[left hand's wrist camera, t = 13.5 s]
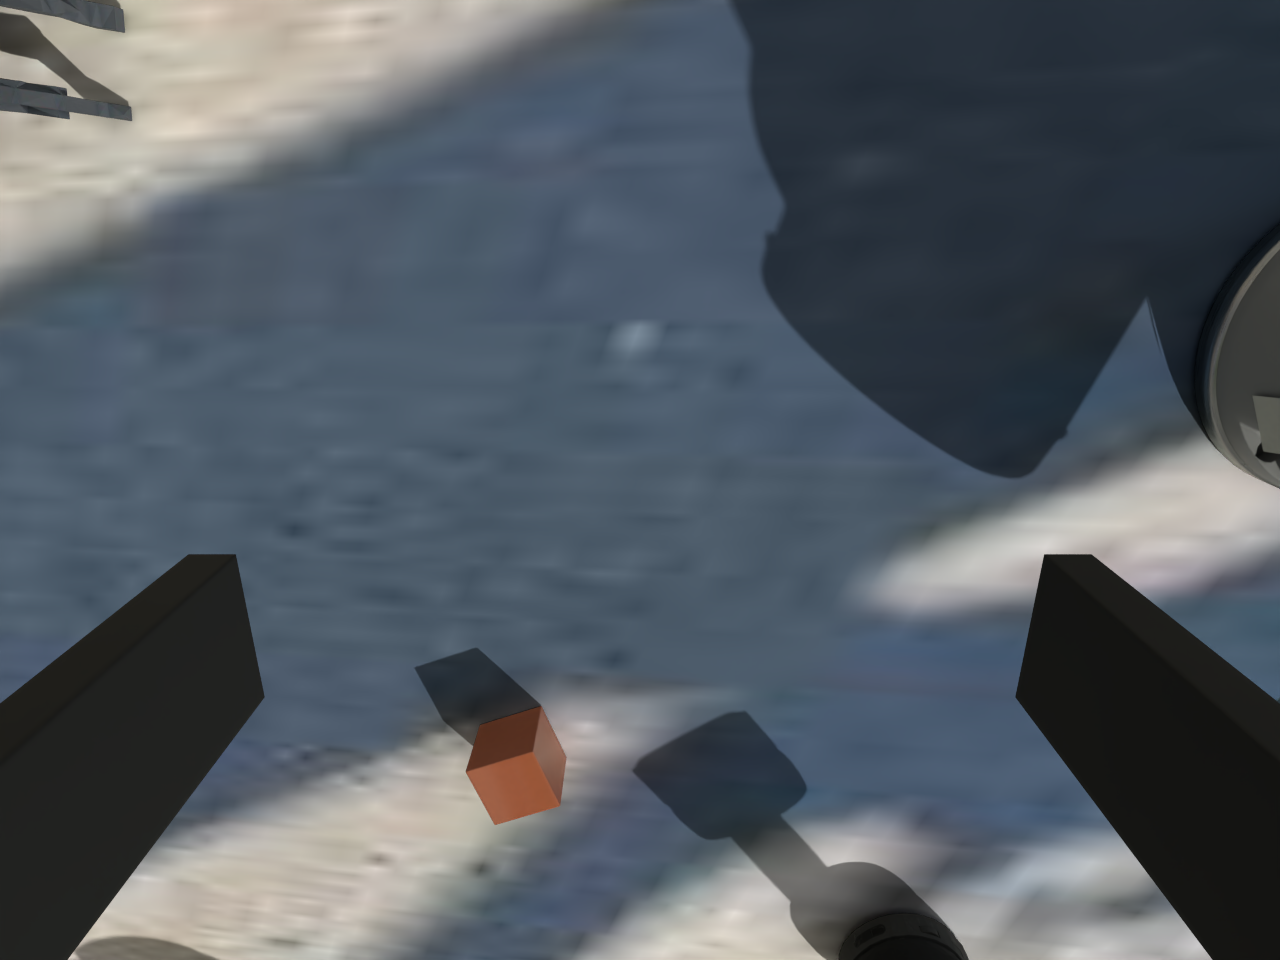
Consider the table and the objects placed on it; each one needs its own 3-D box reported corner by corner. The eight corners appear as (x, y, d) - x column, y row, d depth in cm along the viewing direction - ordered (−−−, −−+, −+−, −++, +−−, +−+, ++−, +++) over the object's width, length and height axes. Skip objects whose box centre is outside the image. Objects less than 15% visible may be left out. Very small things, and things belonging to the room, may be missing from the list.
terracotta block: (541, 705, 45) (532, 751, 41) (566, 757, 46) (560, 806, 43) (479, 724, 46) (465, 771, 42) (506, 775, 47) (494, 825, 43)
